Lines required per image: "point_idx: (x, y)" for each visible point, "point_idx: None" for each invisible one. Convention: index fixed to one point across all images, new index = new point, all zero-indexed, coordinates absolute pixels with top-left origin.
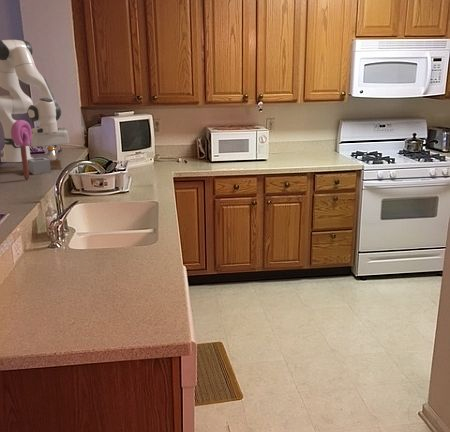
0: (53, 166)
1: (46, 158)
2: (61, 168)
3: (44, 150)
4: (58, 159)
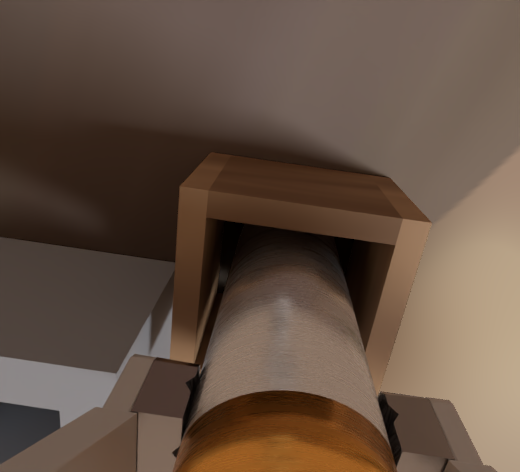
0: None
1: None
2: None
3: (87, 423)
4: (382, 345)
